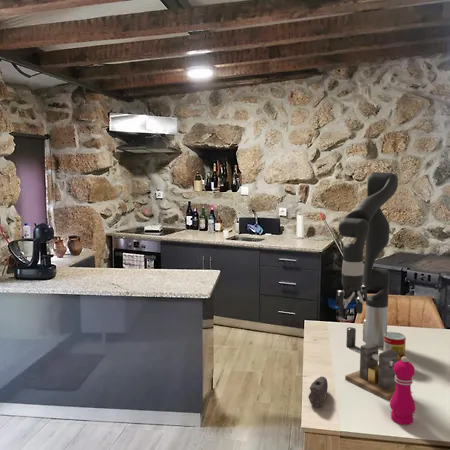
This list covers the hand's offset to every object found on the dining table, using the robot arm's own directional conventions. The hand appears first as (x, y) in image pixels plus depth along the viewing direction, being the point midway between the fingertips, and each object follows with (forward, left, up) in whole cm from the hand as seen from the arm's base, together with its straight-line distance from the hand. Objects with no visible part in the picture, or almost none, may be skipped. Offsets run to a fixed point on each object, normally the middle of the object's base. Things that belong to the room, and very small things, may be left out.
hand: (351, 315), depth 168 cm
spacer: (+12, 0, -21) cm, 24 cm away
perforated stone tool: (+8, -24, -23) cm, 34 cm away
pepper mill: (+31, -12, -22) cm, 40 cm away
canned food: (+5, +19, -22) cm, 30 cm away
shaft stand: (+12, 0, -22) cm, 25 cm away
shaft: (+8, 0, -13) cm, 16 cm away
